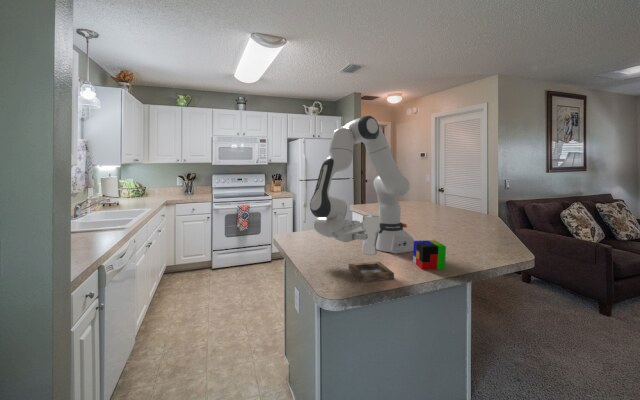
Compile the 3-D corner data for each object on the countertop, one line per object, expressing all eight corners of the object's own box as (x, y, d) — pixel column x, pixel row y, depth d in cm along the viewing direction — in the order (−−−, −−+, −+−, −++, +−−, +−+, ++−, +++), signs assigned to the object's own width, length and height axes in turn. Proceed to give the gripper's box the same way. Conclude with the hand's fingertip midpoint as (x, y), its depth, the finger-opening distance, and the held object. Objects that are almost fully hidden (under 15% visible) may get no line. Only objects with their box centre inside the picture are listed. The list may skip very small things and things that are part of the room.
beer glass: (365, 249, 127) (367, 214, 126) (380, 252, 123) (382, 216, 122) (357, 253, 121) (359, 215, 120) (373, 256, 118) (375, 218, 116)
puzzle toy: (412, 262, 139) (413, 240, 137) (434, 261, 139) (435, 240, 138) (421, 269, 129) (423, 246, 128) (444, 269, 130) (446, 246, 128)
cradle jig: (379, 267, 131) (379, 261, 131) (394, 279, 118) (394, 273, 118) (348, 269, 129) (348, 263, 128) (359, 282, 115) (359, 275, 115)
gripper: (328, 226, 123) (355, 232, 113) (359, 220, 137) (385, 224, 128) (328, 242, 124) (355, 249, 114) (358, 233, 138) (385, 239, 129)
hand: (371, 235), depth 121 cm, fingers closed on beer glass, 6 cm apart
